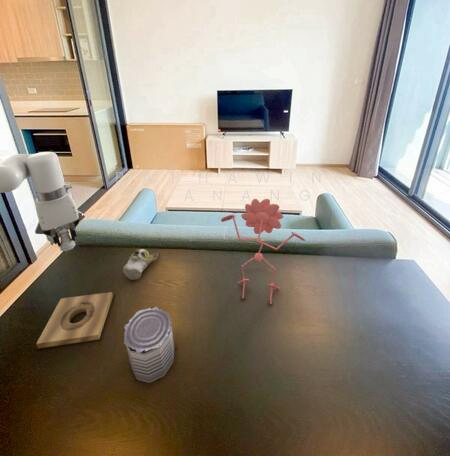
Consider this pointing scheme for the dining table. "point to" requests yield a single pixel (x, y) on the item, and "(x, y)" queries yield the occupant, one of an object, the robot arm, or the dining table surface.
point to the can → (149, 343)
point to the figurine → (261, 229)
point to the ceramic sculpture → (138, 263)
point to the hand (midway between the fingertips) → (66, 241)
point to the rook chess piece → (65, 239)
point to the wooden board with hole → (81, 331)
